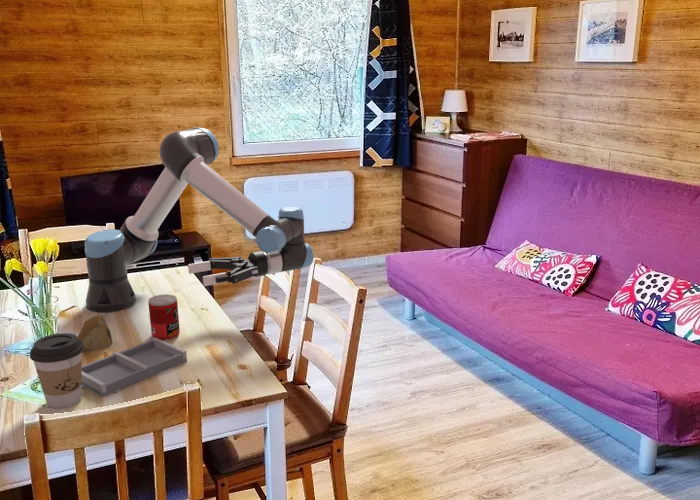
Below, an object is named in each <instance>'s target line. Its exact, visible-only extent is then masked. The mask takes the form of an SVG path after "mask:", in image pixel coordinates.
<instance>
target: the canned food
mask: <svg viewBox="0 0 700 500" xmlns="http://www.w3.org/2000/svg"><path fill="white" fill-rule="evenodd" d="M147 302H148V303H147V304H148V311H149V313H148V314H149V323H150V331H151V333H150V334H151V336H152V338H154V337H155V338H157V339H160V340H162V341H165V340H166V339H167V340H171V339H175V338H177V337H179V335H180V320H179V317H180V316H179V306H178V298H177V296H176V295H173V294H169V293H168V294H165V293H164V294H158V295H157V294H156V295H154V296H152V297H149V298H148V301H147ZM167 340H166V341H167Z"/></svg>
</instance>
